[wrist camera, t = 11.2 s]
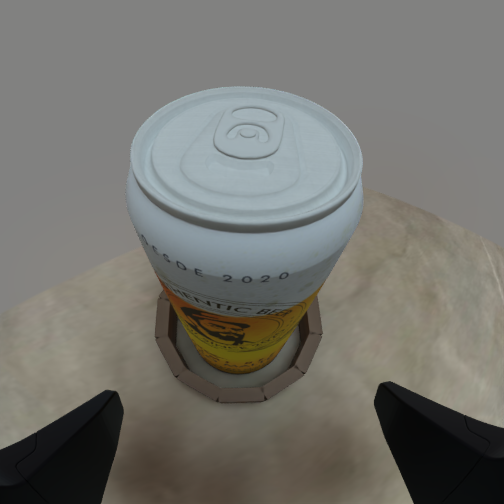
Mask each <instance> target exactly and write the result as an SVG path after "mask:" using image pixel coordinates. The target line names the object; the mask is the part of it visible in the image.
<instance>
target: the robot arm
mask: <svg viewBox="0 0 504 504" xmlns="http://www.w3.org/2000/svg"><path fill="white" fill-rule="evenodd" d="M374 406H375V409H376V412H377V415H378V418H379V422H380V425H381V428H382V431H383V434H384V437H385V439H386V442H387V444H388V446H389V448H390V450H391V453H392V455H393V457H394V459H395V461H396V464H397V466H398V468H399V470H400V473H401V475H402V477H403V480H404V482H405V484H406V486H407V489H408V491H409V494H410V496H411V498H412V501H413V503H414V504H504V428H501V427H497V426H494V425H490V424H487V423H484V422H481V421H479V420H476V419H473V418H471V417H469V416H466V415H463V414H461V413H459V412H457V411H454V410H452V409H450V408H447V407H445V406H443V405H441V404H438V403H436V402H434V401H432V400H430V399H427V398H425V397H423V396H421V395H419V394H416V393H414V392H412V391H410V390H408V389H406V388H404V387H402V386H400V385H397V384H395V383H393V382H391V381H388V382H383V383H380V384H379V386H378V389H377V393H376V396H375V399H374ZM123 414H124V410H123V406H122V403H121V400H120V397H119V394H118V392H116V391H112V390H105V391H103V392H102V393H100V394H98V395H97V396H95V397H94V398H92V399H90V400H89V401H87V402H85V403H84V404H82V405H81V406H79V407H77V408H76V409H74V410H72V411H71V412H69V413H67V414H66V415H64V416H63V417H61V418H59V419H58V420H56V421H54V422H52V423H51V424H49V425H47V426H46V427H44V428H42V429H41V430H39V431H37V433H34V434H32V435H30V436H28V437H26V438H25V439H23V440H21V441H19V442H17V443H15V444H12V445H10V446H8V447H6V448H3V449H1V450H0V504H101V502H102V498H103V494H104V491H105V487H106V484H107V480H108V477H109V473H110V470H111V466H112V463H113V460H114V457H115V453H116V450H117V446H118V440H119V435H120V430H121V425H122V420H123Z"/></svg>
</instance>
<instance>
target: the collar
mask: <svg viewBox="0 0 504 504" xmlns="http://www.w3.org/2000/svg"><path fill="white" fill-rule="evenodd" d="M159 297H160V299H158V303H157V314H156V327H155V338H156V342H157V344H158V346H159V348H160V350H161V352H162V354H163V356H164V358H165V360H166V361H167V363H168V365H169V367H170V369H171V371H172V373H173V374H174V376H175V377H176V378H177V379H178V380H180V381H181V382H183V383H185V384H186V385H188V386H190V387H191V388H193V389H195V390H197V391H198V392H200V393H202V394H204V395H205V396H207V397H209V398H211V399H213V400H215V401H217V402H220V403H249V402H262V401H265V400H268V399H269V398H271V397H272V396H274V395H275V394H277V393H279V392H280V391H282V390H283V389H285V388H286V387H288V386H289V385H291V384H292V383H294V382H295V381H297V380H298V379H300V378H301V377H302V376H304V374H305V373H306V372H307V370H308V368H309V365H310V363H311V361H312V359H313V357H314V354H315V352H316V350H317V348H318V345H319V343H320V341H321V338H322V336H321V335H322V334H323V332H322V325H321V318H320V311H319V304H318V298H317V296H316V297H315V299H314V300H313V302H312V303H311V305H310V306H309V308H308V310H307V311H306V313H305V314H304V316H303V317H302V319H301V320H300V322H299V329H300V338H301V344H300V346H299V348H298V350H297V352H296V354H295V356H294V359H293V361H292V363H291V365H290V367H289V369H288V370H287V371H286V372H284V373H283V374H281V375H280V376H278V377H277V378H275V379H273V380H272V381H270V382H269V383H267V384H265V385H264V386H262V387H250V388H219V387H218V386H216V385H214V384H212V383H210V382H208V381H207V380H205V379H203V378H201V377H200V376H198V375H196V374H194V373H193V372H191V371H190V370H189V368H188V366H187V364H186V363H185V361H184V359H183V357H182V356H181V354H180V352H179V350H178V348H177V347H176V332H177V314H176V312H175V310H174V308H173V306H172V304H171V302H170V300H169V298H168V297H167V295H166V293H165V291H164V290H163V291H162V292H161V294H160V295H159Z"/></svg>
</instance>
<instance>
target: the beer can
mask: <svg viewBox="0 0 504 504" xmlns="http://www.w3.org/2000/svg"><path fill="white" fill-rule="evenodd" d="M130 162H131V167H130V171H129V175H128V179H127V184H126V204H127V209H128V213H129V215H130V218H131V221H132V223H133V225H134V228H135V230H136V232H137V234H138V237H139V239H140V241H141V243H142V245H143V248H144V250H145V252H146V254H147V256H148V258H149V260H150V263H151V265H152V267H153V269H154V271H155V273H156V275H157V277H158V279H159V281H160V283H161V285H162V287H163V289H164V291H165V293H166V295H167V297H168V298H169V300H170V302H171V304H172V306H173V308H174V310H175V312H176V314H177V315H178V317H179V319H180V321H181V323H182V324H183V326H184V328H185V330H186V332H187V333H188V335H189V337H190V339H191V340H192V342H193V344H194V346H195V347H196V349H197V351H198V352H199V354H200V355H201V356H202V358H203V359H204V360H205V361H206V362H208V363H209V364H210V365H212V366H213V367H215V368H217V369H219V370H221V371H224V372H228V373H233V374H244V373H250V372H254V371H257V370H259V369H261V368H263V367H265V366H266V365H268V364H269V363H270V362H271V361H272V360H273V359H274V358H275V357H276V356H277V354H278V353H279V352H280V350H281V349H282V347H283V346H284V344H285V343H286V341H287V340H288V338H289V337H290V335H291V334H292V332H293V331H294V329H295V328H296V326H297V325H298V323H299V322H300V320H301V319H302V317H303V316H304V314H305V313H306V311H307V310H308V308H309V306H310V305H311V303H312V302H313V300H314V299H315V297H316V295H317V294H318V292H319V290H320V289H321V287H322V286H323V284H324V282H325V281H326V279H327V277H328V276H329V274H330V272H331V271H332V269H333V267H334V266H335V264H336V262H337V261H338V259H339V257H340V255H341V254H342V252H343V250H344V248H345V247H346V245H347V243H348V241H349V240H350V238H351V236H352V234H353V232H354V231H355V229H356V227H357V225H358V223H359V220H360V217H361V214H362V209H363V188H362V181H361V173H362V166H363V163H362V162H363V160H362V153H361V149H360V146H359V144H358V142H357V140H356V138H355V136H354V135H353V133H352V132H351V131H350V129H349V128H348V127H347V126H346V125H345V124H344V123H343V122H342V121H341V120H340V119H339V118H337V117H336V116H335V115H334V114H332V113H331V112H329V111H328V110H326V109H325V108H323V107H322V106H320V105H318V104H316V103H314V102H312V101H310V100H307V99H305V98H302V97H300V96H297V95H294V94H290V93H287V92H283V91H278V90H274V89H267V88H260V87H241V86H240V87H223V88H216V89H209V90H205V91H200V92H197V93H193V94H190V95H187V96H184V97H182V98H179V99H177V100H175V101H173V102H171V103H169V104H167V105H166V106H164V107H163V108H161V109H159V110H158V111H156V112H155V113H154V114H153V115H151V116H150V117H149V118H148V119H147V120H146V121H145V122H144V123H143V125H142V126H141V127H140V128H139V130H138V132H137V134H136V135H135V137H134V140H133V142H132V145H131V150H130Z"/></svg>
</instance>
